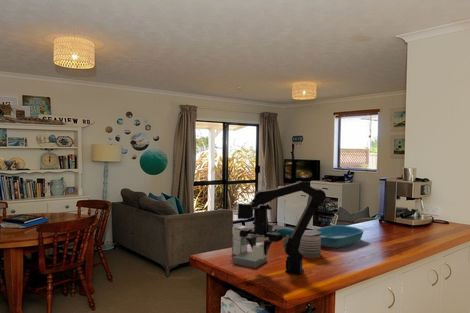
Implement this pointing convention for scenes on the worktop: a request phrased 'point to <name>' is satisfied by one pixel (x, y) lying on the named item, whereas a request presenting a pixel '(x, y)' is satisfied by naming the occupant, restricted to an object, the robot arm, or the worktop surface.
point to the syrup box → (238, 240)
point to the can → (310, 244)
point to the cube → (259, 251)
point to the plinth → (248, 260)
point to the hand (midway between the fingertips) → (260, 254)
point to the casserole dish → (339, 235)
